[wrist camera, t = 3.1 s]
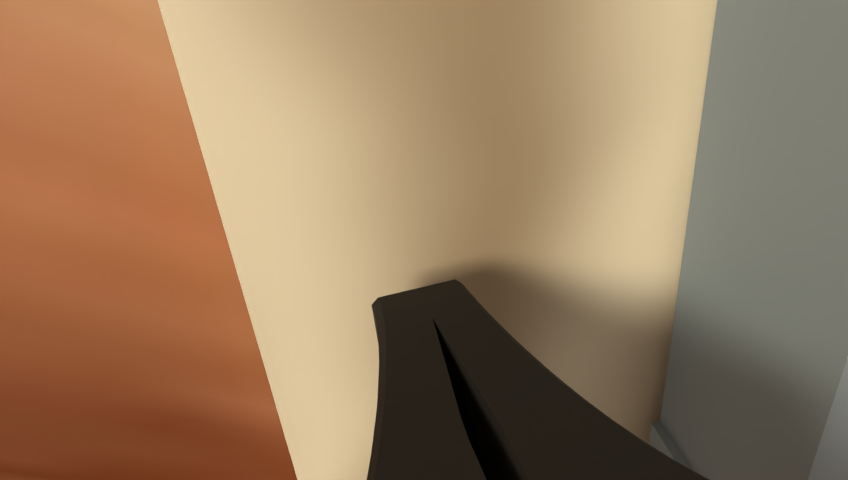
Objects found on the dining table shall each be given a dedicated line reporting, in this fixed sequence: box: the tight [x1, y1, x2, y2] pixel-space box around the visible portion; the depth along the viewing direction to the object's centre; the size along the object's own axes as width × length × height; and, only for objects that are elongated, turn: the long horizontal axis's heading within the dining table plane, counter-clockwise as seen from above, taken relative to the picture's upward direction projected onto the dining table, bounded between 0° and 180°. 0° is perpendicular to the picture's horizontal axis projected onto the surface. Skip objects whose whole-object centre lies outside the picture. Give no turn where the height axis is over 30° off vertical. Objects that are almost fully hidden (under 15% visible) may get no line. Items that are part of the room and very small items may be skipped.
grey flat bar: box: [649, 0, 848, 480], centre depth 12 cm, size 14×1×4 cm, turn 5°
